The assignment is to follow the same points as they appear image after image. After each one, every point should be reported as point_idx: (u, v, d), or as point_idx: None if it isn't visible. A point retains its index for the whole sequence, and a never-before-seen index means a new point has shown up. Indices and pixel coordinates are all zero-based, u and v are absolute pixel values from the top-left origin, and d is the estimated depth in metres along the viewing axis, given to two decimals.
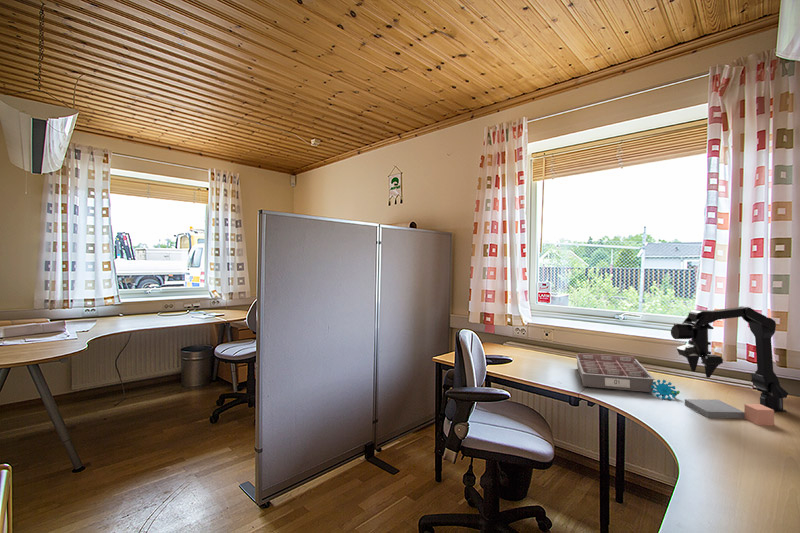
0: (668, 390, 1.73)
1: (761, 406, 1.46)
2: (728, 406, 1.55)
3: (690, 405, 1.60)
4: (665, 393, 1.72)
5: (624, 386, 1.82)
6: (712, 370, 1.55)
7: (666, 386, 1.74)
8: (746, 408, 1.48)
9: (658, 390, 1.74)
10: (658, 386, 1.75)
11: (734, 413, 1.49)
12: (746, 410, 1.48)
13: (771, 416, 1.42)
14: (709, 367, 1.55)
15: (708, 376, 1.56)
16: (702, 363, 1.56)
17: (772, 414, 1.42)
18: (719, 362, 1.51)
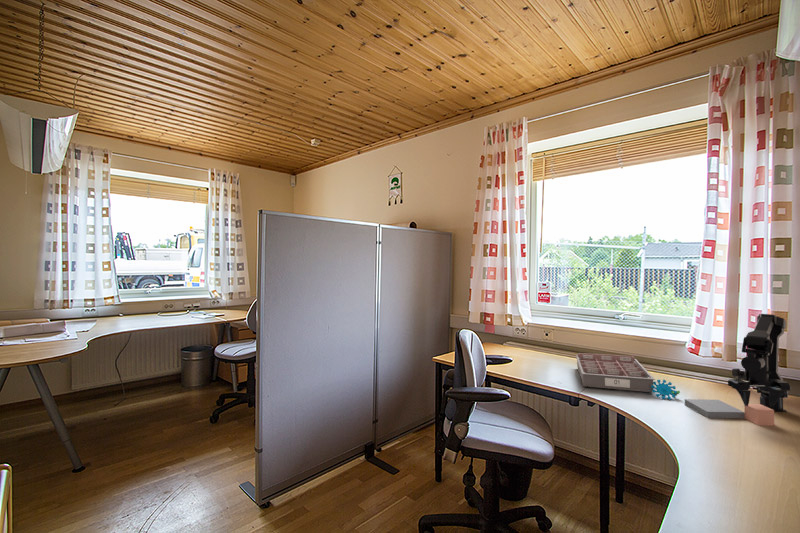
0: (668, 390, 1.73)
1: (761, 406, 1.46)
2: (728, 406, 1.55)
3: (690, 405, 1.60)
4: (665, 393, 1.72)
5: (624, 386, 1.82)
6: (744, 398, 1.45)
7: (666, 386, 1.74)
8: (746, 408, 1.48)
9: (658, 390, 1.74)
10: (658, 386, 1.75)
11: (734, 413, 1.49)
12: (746, 410, 1.48)
13: (771, 416, 1.42)
14: (742, 394, 1.46)
15: (745, 404, 1.46)
16: None
17: (772, 414, 1.42)
18: (735, 387, 1.45)
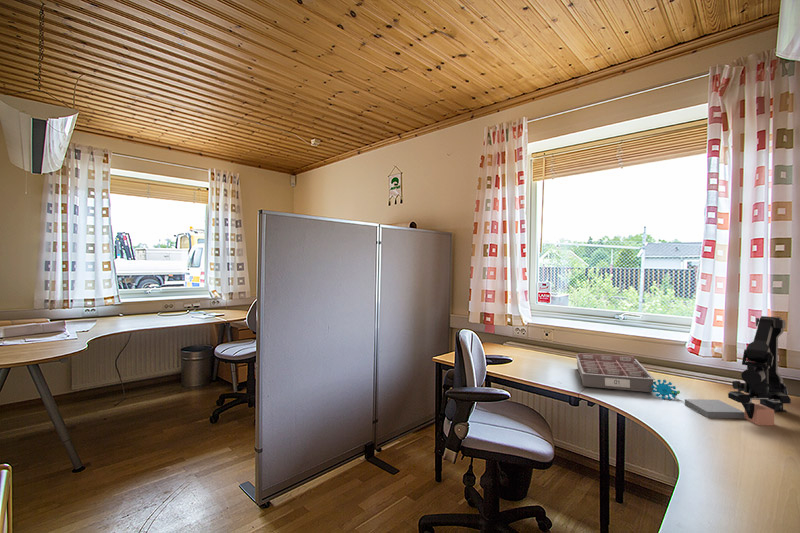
0: (668, 390, 1.73)
1: (761, 406, 1.46)
2: (728, 406, 1.55)
3: (690, 405, 1.60)
4: (665, 393, 1.72)
5: (624, 386, 1.82)
6: (749, 410, 1.45)
7: (666, 386, 1.74)
8: None
9: (658, 390, 1.74)
10: (658, 386, 1.75)
11: (734, 413, 1.49)
12: None
13: (771, 416, 1.42)
14: (746, 406, 1.46)
15: (750, 417, 1.46)
16: None
17: (772, 414, 1.42)
18: (736, 400, 1.45)
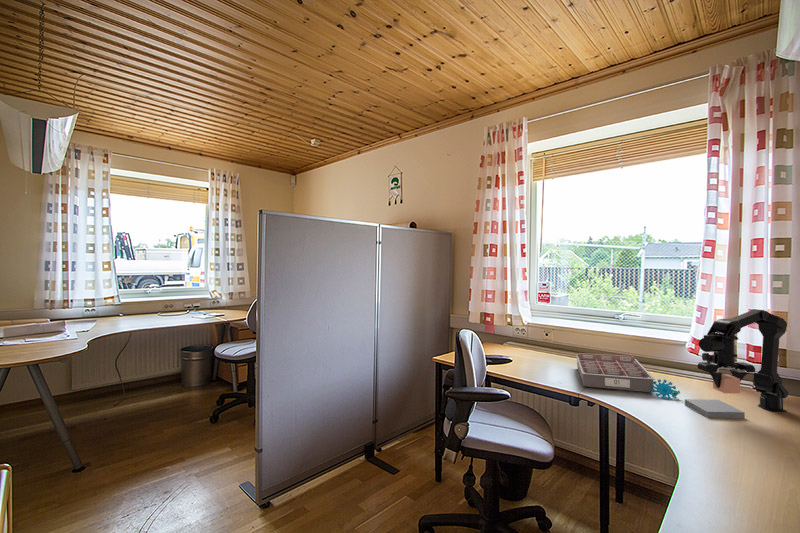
0: (668, 390, 1.73)
1: (728, 376, 1.53)
2: (728, 406, 1.55)
3: (690, 405, 1.60)
4: (665, 393, 1.73)
5: (624, 386, 1.82)
6: (716, 380, 1.52)
7: (666, 386, 1.74)
8: None
9: (658, 390, 1.74)
10: (658, 386, 1.76)
11: (734, 413, 1.49)
12: None
13: (737, 384, 1.50)
14: (714, 376, 1.53)
15: (717, 386, 1.53)
16: None
17: (738, 382, 1.50)
18: (704, 370, 1.52)
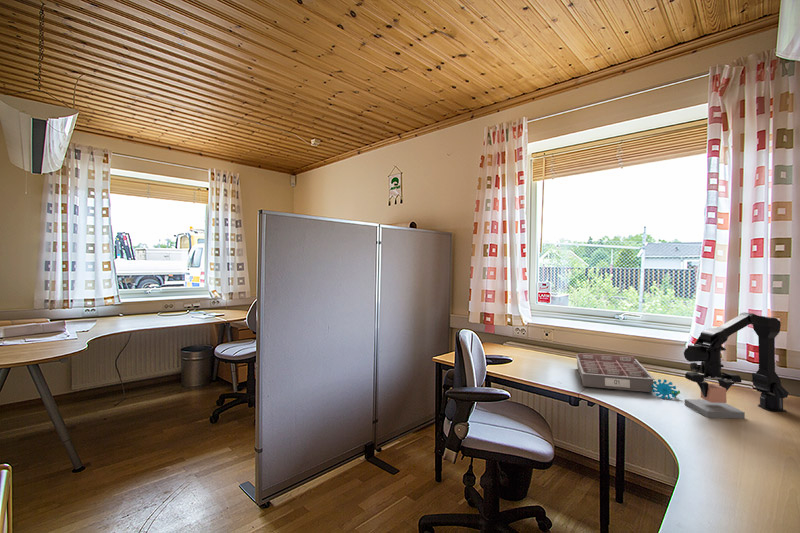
0: (668, 390, 1.73)
1: (715, 385, 1.57)
2: (728, 406, 1.55)
3: (690, 405, 1.60)
4: (665, 393, 1.73)
5: (624, 386, 1.82)
6: (703, 389, 1.56)
7: (666, 386, 1.74)
8: None
9: (658, 389, 1.75)
10: (658, 386, 1.76)
11: (734, 413, 1.49)
12: None
13: (723, 394, 1.53)
14: (701, 386, 1.57)
15: (704, 395, 1.57)
16: None
17: (724, 392, 1.53)
18: (691, 379, 1.56)
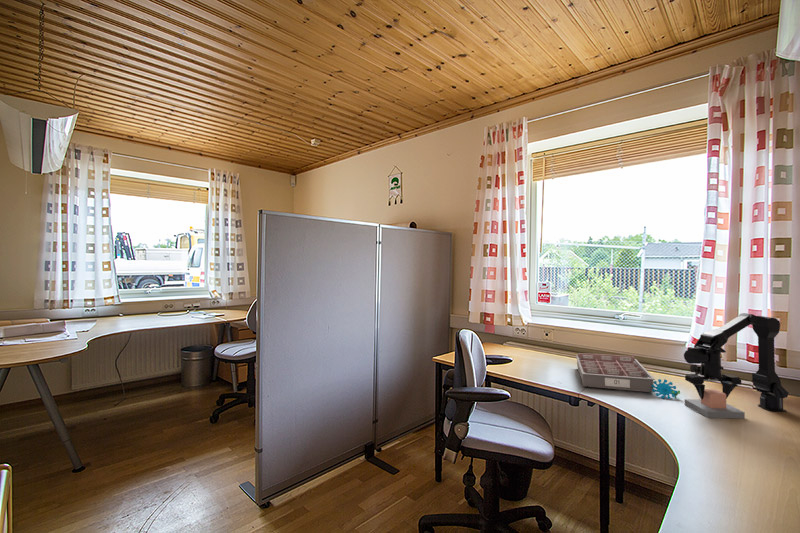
0: (668, 390, 1.73)
1: (715, 391, 1.57)
2: (728, 406, 1.55)
3: (690, 405, 1.60)
4: (665, 392, 1.73)
5: (624, 386, 1.82)
6: (700, 391, 1.56)
7: (667, 386, 1.74)
8: None
9: (658, 389, 1.75)
10: (658, 385, 1.76)
11: (734, 413, 1.49)
12: None
13: (723, 399, 1.53)
14: (698, 387, 1.57)
15: (701, 397, 1.57)
16: None
17: (724, 398, 1.53)
18: (691, 381, 1.56)
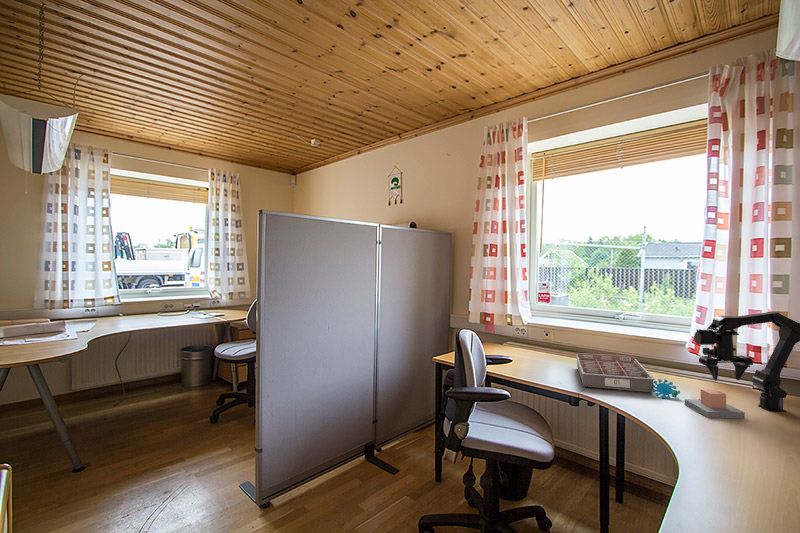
0: (668, 390, 1.73)
1: (715, 391, 1.57)
2: (728, 406, 1.55)
3: (690, 405, 1.60)
4: (665, 392, 1.73)
5: (624, 386, 1.82)
6: (713, 373, 1.61)
7: (667, 386, 1.75)
8: (702, 393, 1.59)
9: (658, 389, 1.75)
10: (658, 385, 1.76)
11: (734, 413, 1.49)
12: (702, 394, 1.59)
13: (723, 399, 1.53)
14: (711, 369, 1.62)
15: (715, 379, 1.62)
16: None
17: (724, 398, 1.53)
18: (705, 363, 1.61)
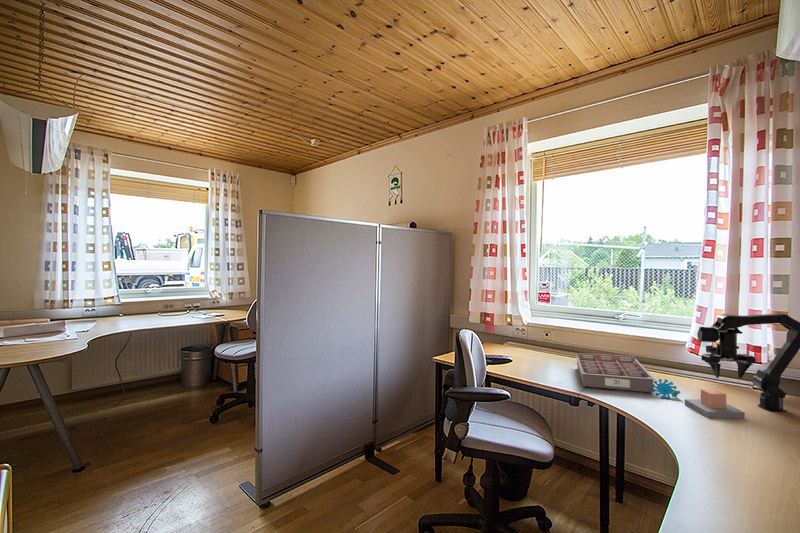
0: (668, 389, 1.73)
1: (715, 391, 1.57)
2: (728, 406, 1.55)
3: (690, 405, 1.60)
4: (665, 392, 1.73)
5: (624, 386, 1.82)
6: (715, 370, 1.63)
7: (667, 385, 1.75)
8: (702, 393, 1.59)
9: (658, 389, 1.75)
10: (659, 385, 1.76)
11: (734, 413, 1.49)
12: (702, 394, 1.59)
13: (723, 399, 1.53)
14: (714, 367, 1.64)
15: (716, 376, 1.64)
16: None
17: (724, 398, 1.53)
18: (707, 361, 1.63)
